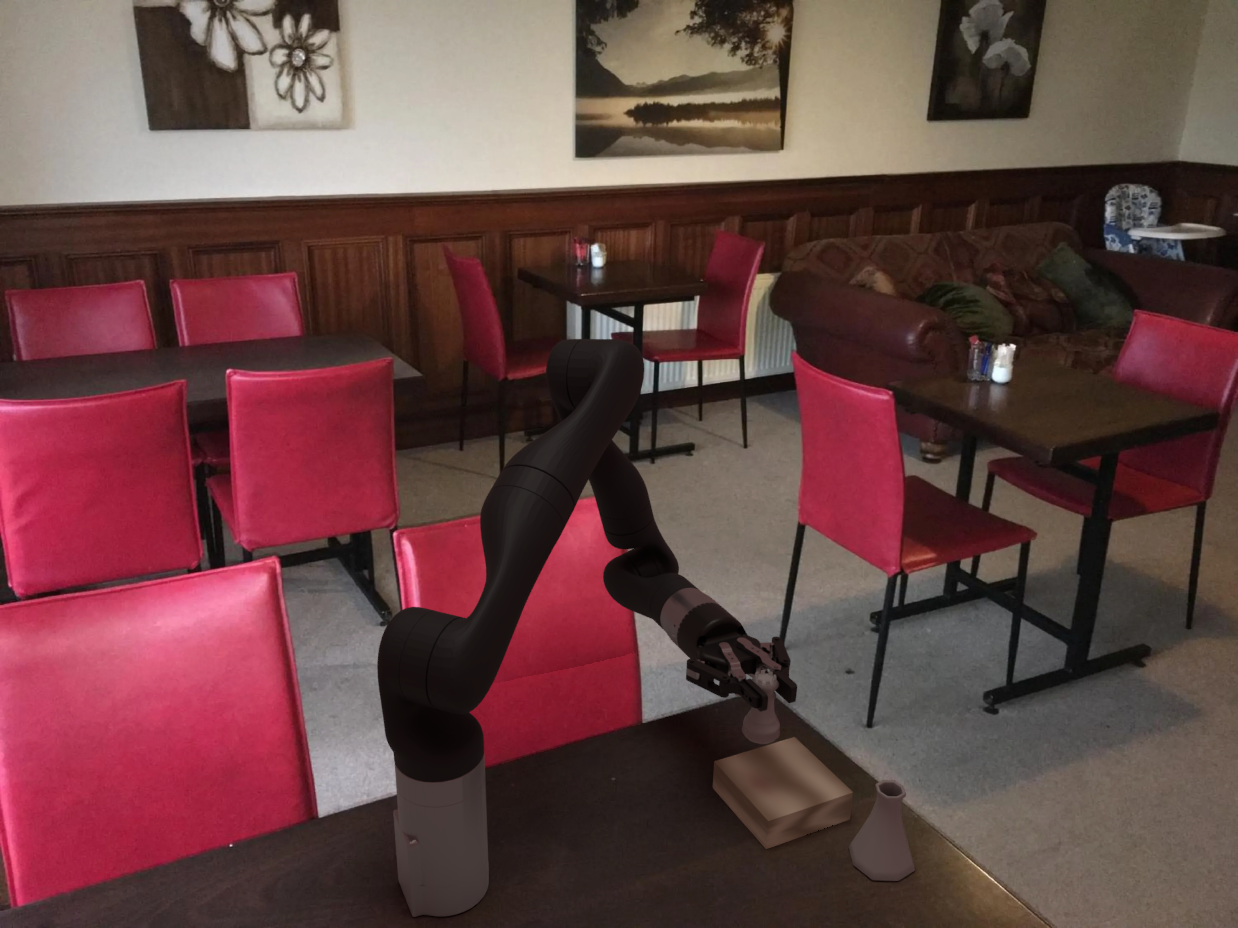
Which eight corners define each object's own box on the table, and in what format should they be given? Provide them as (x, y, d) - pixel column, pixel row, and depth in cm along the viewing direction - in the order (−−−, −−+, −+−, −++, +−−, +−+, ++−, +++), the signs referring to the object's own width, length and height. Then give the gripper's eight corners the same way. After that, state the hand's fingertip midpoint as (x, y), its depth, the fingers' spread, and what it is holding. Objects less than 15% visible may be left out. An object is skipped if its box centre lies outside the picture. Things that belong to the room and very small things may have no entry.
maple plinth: (766, 849, 119) (768, 820, 118) (712, 787, 129) (714, 761, 128) (849, 819, 124) (853, 792, 122) (792, 762, 134) (794, 736, 133)
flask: (837, 845, 120) (845, 774, 116) (892, 833, 122) (901, 762, 118) (869, 889, 113) (878, 815, 110) (926, 875, 115) (937, 803, 112)
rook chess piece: (778, 723, 123) (784, 666, 120) (780, 747, 119) (786, 688, 116) (741, 721, 123) (745, 663, 120) (741, 744, 119) (746, 685, 116)
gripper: (653, 613, 126) (728, 686, 112) (750, 590, 132) (833, 657, 118) (651, 666, 129) (724, 744, 114) (746, 641, 135) (827, 712, 120)
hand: (779, 699), depth 116 cm, fingers closed on rook chess piece, 3 cm apart
